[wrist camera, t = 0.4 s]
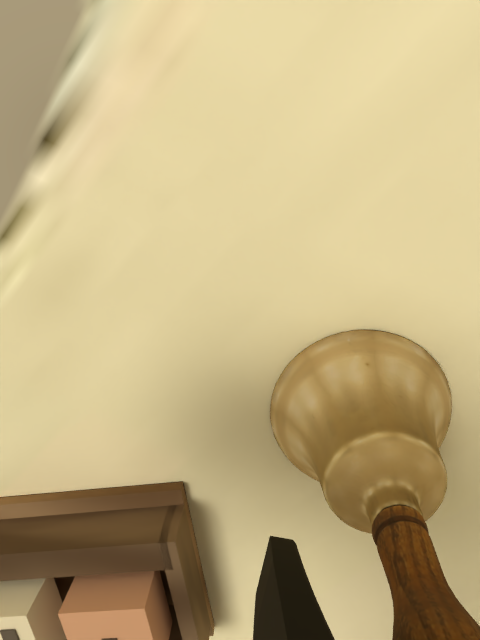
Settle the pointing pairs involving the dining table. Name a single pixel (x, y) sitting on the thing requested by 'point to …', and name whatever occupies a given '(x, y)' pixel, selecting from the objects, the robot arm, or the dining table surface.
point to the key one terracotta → (116, 607)
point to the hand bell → (378, 460)
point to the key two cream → (30, 610)
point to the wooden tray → (110, 544)
